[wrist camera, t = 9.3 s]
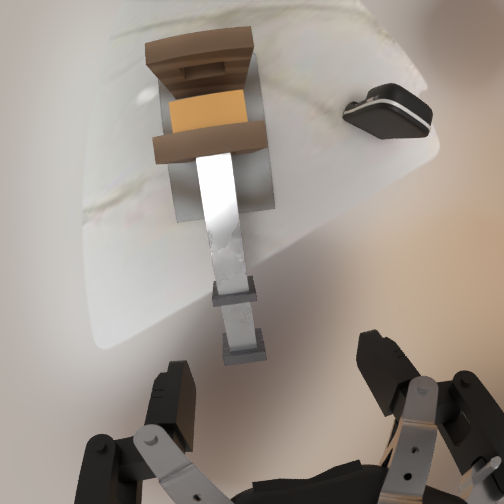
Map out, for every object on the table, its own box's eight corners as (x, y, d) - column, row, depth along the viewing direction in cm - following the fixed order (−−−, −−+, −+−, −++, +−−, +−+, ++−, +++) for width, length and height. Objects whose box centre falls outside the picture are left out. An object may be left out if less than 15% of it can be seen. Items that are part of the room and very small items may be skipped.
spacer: (180, 114, 29) (168, 102, 22) (239, 104, 29) (243, 89, 22) (185, 145, 30) (174, 141, 24) (244, 135, 30) (248, 128, 24)
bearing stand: (159, 70, 28) (121, 22, 14) (254, 56, 28) (271, -2, 14) (178, 220, 34) (148, 260, 20) (273, 207, 35) (303, 237, 21)
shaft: (190, 151, 24) (183, 149, 20) (237, 144, 25) (239, 141, 20) (224, 341, 31) (224, 365, 27) (262, 336, 31) (266, 360, 27)
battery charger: (389, 118, 32) (441, 109, 21) (382, 141, 33) (435, 139, 22) (347, 94, 31) (392, 74, 20) (339, 118, 32) (384, 105, 21)
